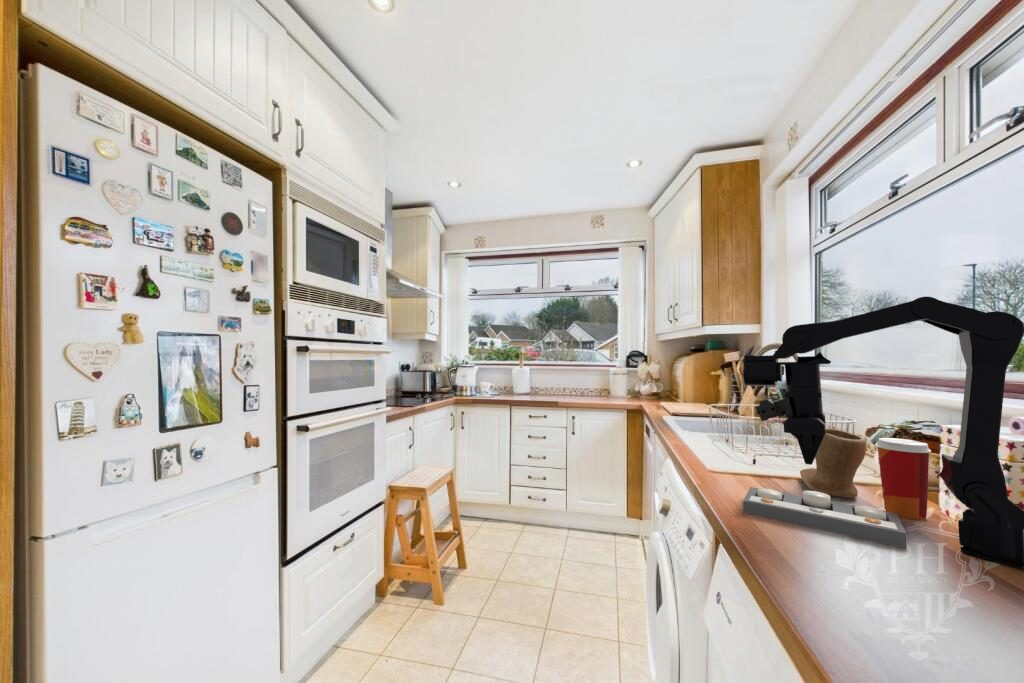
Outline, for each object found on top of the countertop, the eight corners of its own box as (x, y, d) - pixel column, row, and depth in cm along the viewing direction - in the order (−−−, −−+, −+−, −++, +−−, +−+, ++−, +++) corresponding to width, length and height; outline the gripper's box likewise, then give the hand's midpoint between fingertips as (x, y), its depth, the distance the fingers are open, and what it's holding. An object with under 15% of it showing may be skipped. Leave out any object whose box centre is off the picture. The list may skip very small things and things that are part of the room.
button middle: (830, 503, 79) (830, 493, 79) (830, 510, 75) (830, 499, 75) (803, 498, 81) (803, 489, 82) (802, 505, 78) (802, 494, 78)
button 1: (782, 500, 84) (782, 491, 84) (781, 506, 80) (781, 497, 80) (759, 496, 86) (758, 487, 87) (756, 501, 83) (756, 492, 83)
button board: (897, 526, 74) (896, 510, 74) (907, 548, 65) (906, 530, 65) (750, 498, 89) (750, 485, 89) (743, 512, 80) (743, 498, 80)
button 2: (885, 520, 74) (884, 509, 74) (888, 528, 70) (887, 516, 70) (854, 514, 76) (853, 504, 77) (855, 521, 73) (855, 510, 73)
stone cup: (874, 506, 84) (872, 436, 85) (806, 496, 90) (804, 431, 91) (858, 486, 97) (855, 426, 98) (799, 479, 103) (797, 422, 104)
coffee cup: (908, 507, 83) (905, 437, 84) (947, 523, 75) (943, 446, 76) (866, 506, 84) (863, 436, 85) (900, 522, 76) (897, 445, 77)
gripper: (762, 384, 91) (766, 450, 90) (750, 388, 77) (755, 468, 76) (822, 384, 84) (828, 457, 83) (822, 389, 70) (828, 477, 69)
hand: (808, 464), depth 78 cm, fingers closed
